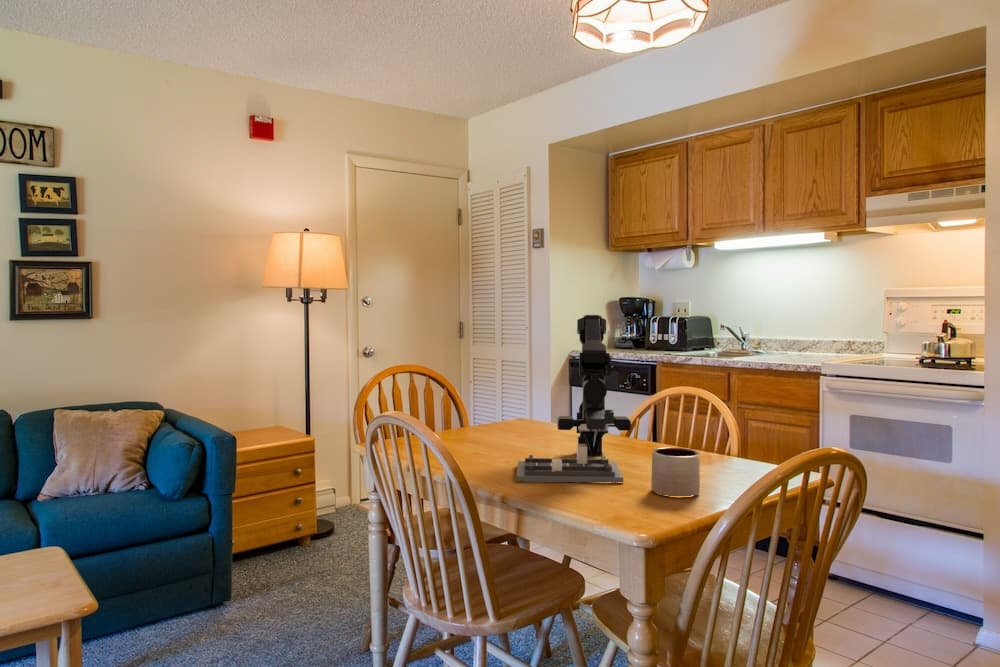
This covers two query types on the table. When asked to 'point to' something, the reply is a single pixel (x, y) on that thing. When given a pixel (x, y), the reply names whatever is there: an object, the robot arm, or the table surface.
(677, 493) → the planter
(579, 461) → the fader
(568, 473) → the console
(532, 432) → the table surface
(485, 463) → the table surface
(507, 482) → the table surface
